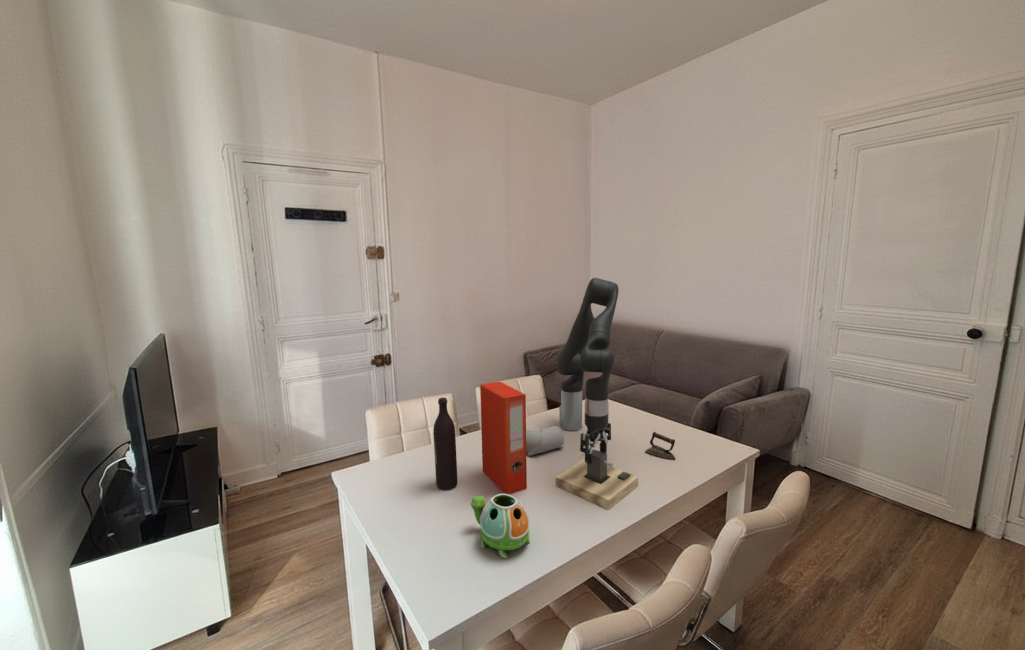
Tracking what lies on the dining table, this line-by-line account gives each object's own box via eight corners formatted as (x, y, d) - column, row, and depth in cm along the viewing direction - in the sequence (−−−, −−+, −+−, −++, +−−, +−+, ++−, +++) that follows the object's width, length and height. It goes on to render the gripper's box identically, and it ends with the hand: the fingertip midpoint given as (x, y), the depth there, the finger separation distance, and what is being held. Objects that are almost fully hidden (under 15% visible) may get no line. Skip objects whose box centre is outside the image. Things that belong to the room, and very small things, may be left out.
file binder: (502, 466, 149) (500, 381, 144) (527, 488, 134) (525, 394, 129) (482, 472, 145) (479, 384, 140) (505, 495, 130) (502, 398, 126)
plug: (587, 482, 135) (587, 453, 134) (593, 477, 138) (593, 449, 137) (608, 490, 130) (608, 461, 128) (615, 485, 132) (615, 456, 131)
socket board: (555, 485, 136) (555, 474, 135) (586, 465, 148) (586, 455, 148) (608, 509, 122) (608, 497, 121) (638, 485, 134) (638, 474, 134)
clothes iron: (653, 448, 162) (660, 426, 159) (678, 464, 154) (686, 442, 151) (643, 452, 157) (650, 429, 155) (668, 468, 149) (676, 445, 147)
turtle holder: (490, 514, 121) (488, 476, 119) (539, 540, 109) (538, 498, 107) (458, 536, 111) (456, 495, 110) (508, 566, 100) (507, 521, 98)
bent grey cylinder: (521, 462, 150) (567, 449, 159) (518, 433, 150) (563, 422, 159) (501, 453, 165) (543, 442, 175) (497, 427, 166) (540, 417, 175)
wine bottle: (449, 477, 142) (445, 393, 138) (462, 484, 137) (458, 398, 133) (432, 485, 138) (427, 399, 133) (444, 493, 132) (439, 404, 128)
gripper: (598, 402, 139) (598, 447, 141) (573, 414, 129) (573, 462, 131) (618, 407, 134) (617, 454, 136) (593, 420, 124) (593, 470, 126)
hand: (595, 458), depth 134 cm, fingers open, 8 cm apart
